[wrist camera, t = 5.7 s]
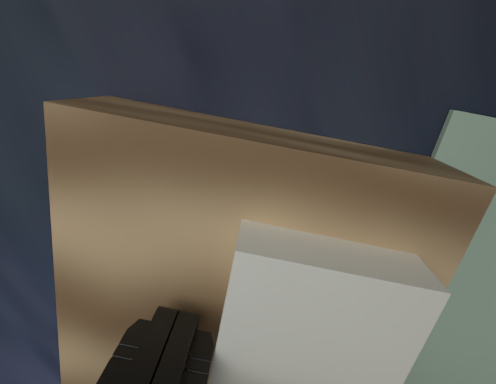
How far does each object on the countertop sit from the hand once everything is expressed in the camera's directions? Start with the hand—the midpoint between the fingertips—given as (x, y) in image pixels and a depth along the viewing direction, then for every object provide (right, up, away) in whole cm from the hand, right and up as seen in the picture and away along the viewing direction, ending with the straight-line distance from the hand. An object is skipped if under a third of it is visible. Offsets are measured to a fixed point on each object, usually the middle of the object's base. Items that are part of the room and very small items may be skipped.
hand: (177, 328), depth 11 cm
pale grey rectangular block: (+4, -1, +1) cm, 5 cm away
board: (+2, +1, +4) cm, 5 cm away
